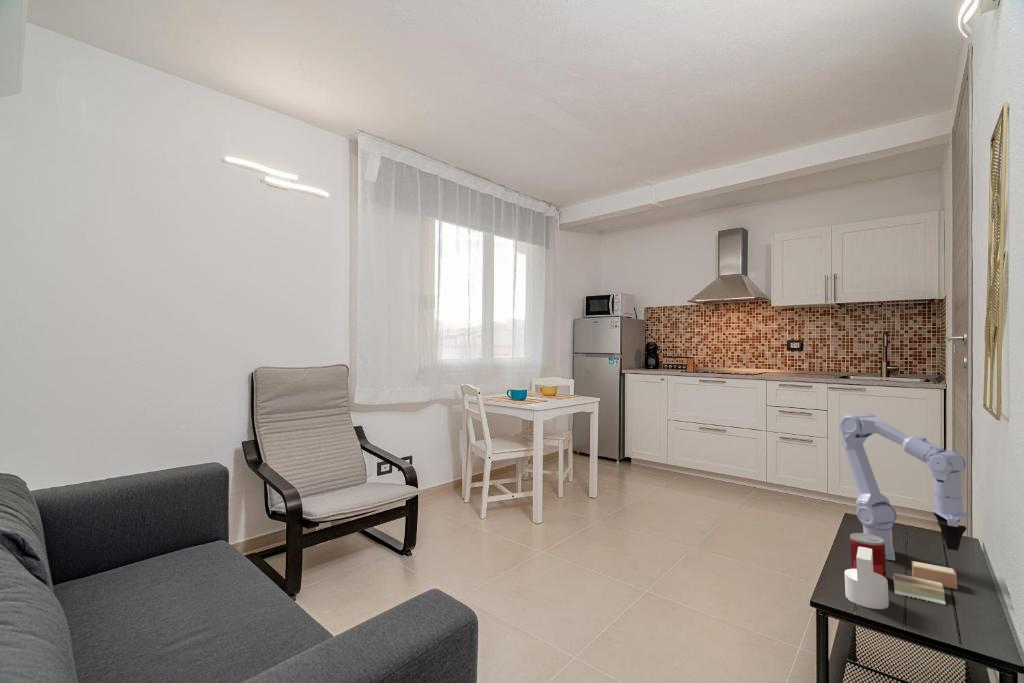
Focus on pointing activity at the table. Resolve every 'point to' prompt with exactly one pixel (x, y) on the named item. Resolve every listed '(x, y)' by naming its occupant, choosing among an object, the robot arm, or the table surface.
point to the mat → (919, 596)
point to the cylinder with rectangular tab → (866, 582)
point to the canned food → (872, 543)
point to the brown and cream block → (935, 574)
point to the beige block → (919, 586)
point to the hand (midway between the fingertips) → (950, 544)
